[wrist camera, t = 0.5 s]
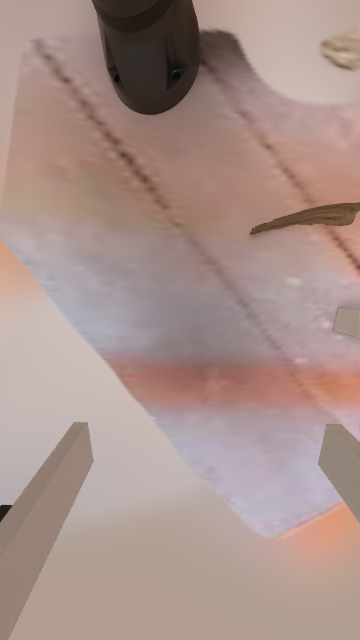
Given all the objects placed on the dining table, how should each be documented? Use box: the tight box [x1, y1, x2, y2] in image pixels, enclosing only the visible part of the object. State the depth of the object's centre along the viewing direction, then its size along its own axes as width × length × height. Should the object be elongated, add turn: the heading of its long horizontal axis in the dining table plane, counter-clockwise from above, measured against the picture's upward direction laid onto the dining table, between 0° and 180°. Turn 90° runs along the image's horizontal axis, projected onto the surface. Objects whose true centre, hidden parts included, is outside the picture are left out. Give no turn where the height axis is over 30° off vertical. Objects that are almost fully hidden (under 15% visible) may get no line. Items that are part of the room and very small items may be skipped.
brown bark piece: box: [250, 202, 360, 234], centre depth 29 cm, size 15×2×5 cm, turn 98°
